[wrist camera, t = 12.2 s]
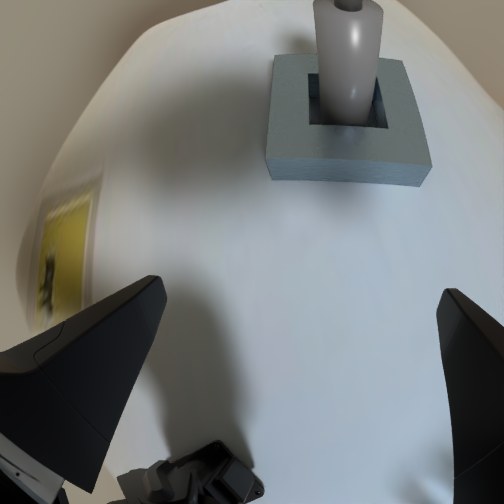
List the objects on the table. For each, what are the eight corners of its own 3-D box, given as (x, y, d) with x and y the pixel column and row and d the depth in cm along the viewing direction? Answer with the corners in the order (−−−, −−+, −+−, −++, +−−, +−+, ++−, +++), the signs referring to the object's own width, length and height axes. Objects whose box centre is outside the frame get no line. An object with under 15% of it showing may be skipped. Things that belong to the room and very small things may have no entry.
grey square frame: (419, 186, 22) (432, 166, 19) (272, 179, 25) (265, 158, 21) (397, 83, 25) (401, 60, 22) (279, 78, 28) (274, 55, 24)
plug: (345, 149, 24) (354, 0, 10) (310, 121, 26) (294, -20, 11) (376, 125, 24) (399, -12, 10) (342, 99, 26) (342, -33, 11)
